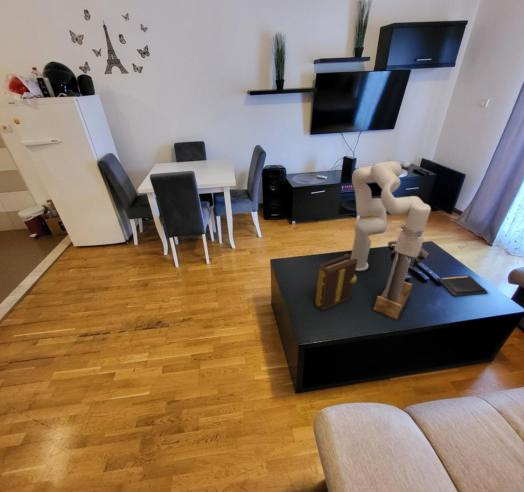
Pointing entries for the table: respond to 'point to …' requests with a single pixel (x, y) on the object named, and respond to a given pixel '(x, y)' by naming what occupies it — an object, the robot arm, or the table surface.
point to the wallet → (462, 286)
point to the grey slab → (397, 277)
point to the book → (335, 281)
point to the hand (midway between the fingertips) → (402, 262)
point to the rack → (392, 307)
